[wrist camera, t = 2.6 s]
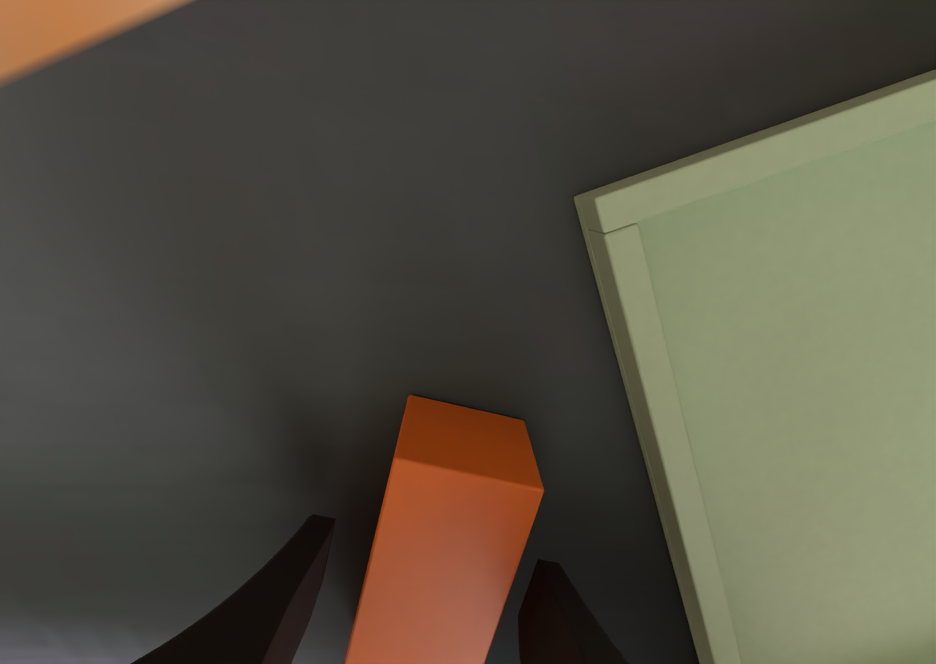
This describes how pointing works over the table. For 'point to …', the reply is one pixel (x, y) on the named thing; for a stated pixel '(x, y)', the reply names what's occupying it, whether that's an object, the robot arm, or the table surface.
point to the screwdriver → (446, 537)
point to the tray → (788, 377)
